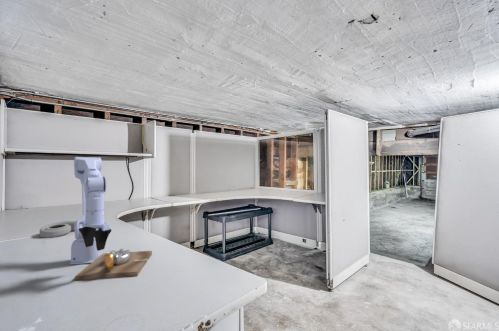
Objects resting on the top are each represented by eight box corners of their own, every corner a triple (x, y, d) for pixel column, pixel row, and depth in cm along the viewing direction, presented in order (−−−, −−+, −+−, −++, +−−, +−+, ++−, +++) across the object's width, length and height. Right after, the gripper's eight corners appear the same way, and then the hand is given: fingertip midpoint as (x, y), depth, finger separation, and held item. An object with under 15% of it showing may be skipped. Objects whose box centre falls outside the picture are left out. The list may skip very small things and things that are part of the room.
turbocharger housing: (32, 240, 133) (59, 240, 133) (31, 229, 132) (58, 228, 132) (56, 230, 150) (80, 230, 149) (56, 220, 149) (80, 220, 149)
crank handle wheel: (111, 258, 98) (111, 243, 98) (132, 256, 99) (132, 242, 99) (95, 273, 84) (95, 256, 84) (119, 271, 85) (119, 255, 85)
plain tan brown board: (74, 280, 82) (75, 275, 82) (103, 257, 103) (103, 253, 103) (140, 275, 85) (140, 271, 85) (154, 253, 107) (154, 250, 107)
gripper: (72, 210, 87) (72, 247, 87) (94, 214, 80) (94, 255, 80) (93, 207, 93) (93, 242, 93) (115, 210, 86) (114, 248, 86)
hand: (94, 248), depth 87 cm, fingers open, 7 cm apart
